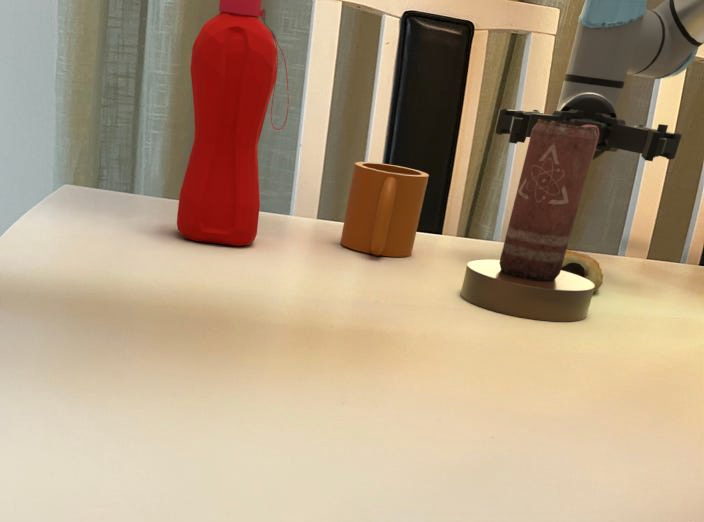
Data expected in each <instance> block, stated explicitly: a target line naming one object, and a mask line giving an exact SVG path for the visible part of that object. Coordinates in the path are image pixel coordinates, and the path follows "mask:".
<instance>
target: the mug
mask: <svg viewBox="0 0 704 522" xmlns="http://www.w3.org/2000/svg"><path fill="white" fill-rule="evenodd" d="M429 177H430V175H429V174H428V173H427V172H424V171H421V170H419V169H414V168H409V167H405V166H400V165H396V164H395V165H394V164H388V163H380V162H371V161H357V162H356V161H355V163H354V166H353V171H352V176H351V183H350V188H349V194H348V199H347V204H346V210H345V214H344V215H345V216H344V220H343V226H342V230H341V231H342V232H341V238H340V244H341V245H342V246H344V247H346V248H349V249H351V250H355V251H356V252H357V251H358V252H361V253H365V254H371V255H374V256H376V257H377V256H378V257H379V256H384V257H394V258H404V257H405V258H406V257H410V256H412V254H413V249H414V244H415V240H416V235H417V230H418V227H419V222H420V217H421V213H422V208H423V203H424V199H425V195H426V194H425V193H426V190H427V185H428V180H429Z"/></svg>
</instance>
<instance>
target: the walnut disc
mask: <svg viewBox="0 0 704 522" xmlns="http://www.w3.org/2000/svg"><path fill="white" fill-rule="evenodd" d="M499 262H500V259H476V260H471V261H469V262H468V263H467V264H466V268H465V273H464V276H463V280H462V285H461V290H460V296H461V297H462V298H463V300H465V301H466V302H469V303H470V304H473V305H475V306H478V307H480V308H482V309H486V310H489V311H492V312H495V313H501V314H503V315H509V316H513V317H517V318H522V319H523V318H524V319H528V320H536V321H537V320H538V321H545V322H546V321H547V322H560V323H561V322H564V323H565V322H576V321H577V322H578V321H581V320H584V319H585V318H586V317H587V315H588V312H589V308H590V306H591V302H592V300H593V299H592V298H593V295H594V292H595V291H594V289H595V285H594V283H592V282H591V281H589V280H588V279H586V278H583V277H581V276H578V275H576V274H572V273H569V272H566V271H562V270H561V271H560V274H559V275H558V276H557V277H556V278H555V279H554V280H552V281H538V280H530V279H524V278H519V277H515V276H512V275H509V274H506V273H504V272H502V270H501V267H500V264H499Z"/></svg>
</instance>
